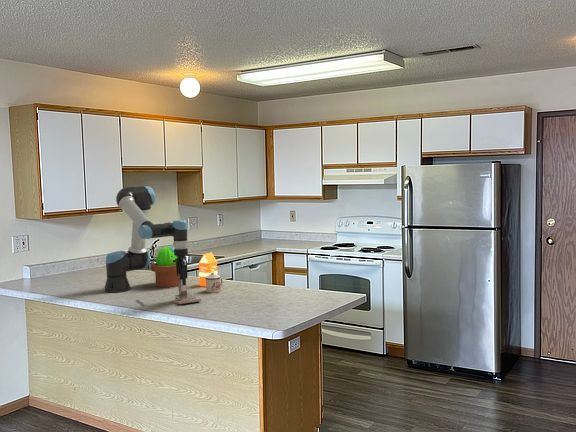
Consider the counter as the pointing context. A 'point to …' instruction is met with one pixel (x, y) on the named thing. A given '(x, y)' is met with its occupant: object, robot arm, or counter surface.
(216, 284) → the teacup with lid
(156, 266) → the potted cactus
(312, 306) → the counter surface
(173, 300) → the ceramic tile
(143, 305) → the rubber tool mat
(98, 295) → the counter surface
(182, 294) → the steel trowel
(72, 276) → the counter surface
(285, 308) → the counter surface
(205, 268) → the orange juice
